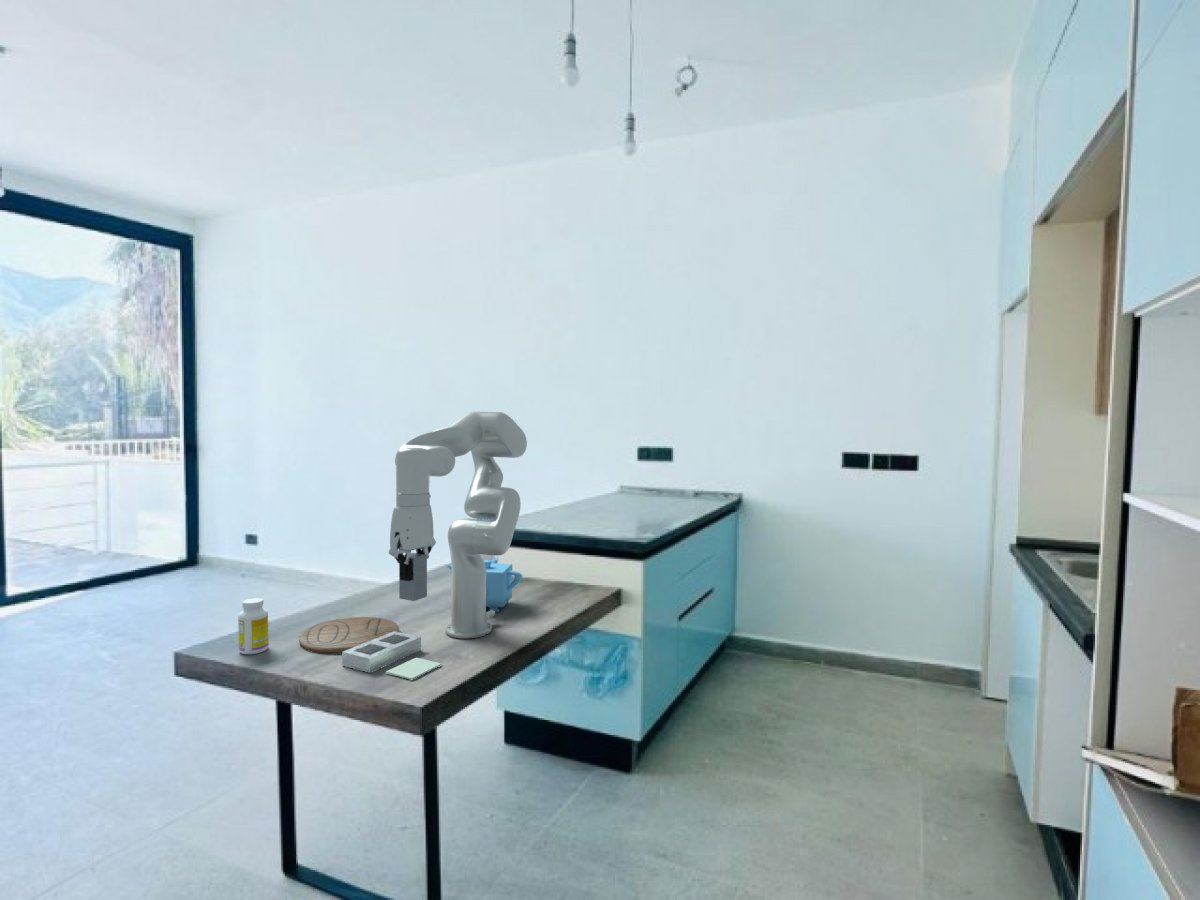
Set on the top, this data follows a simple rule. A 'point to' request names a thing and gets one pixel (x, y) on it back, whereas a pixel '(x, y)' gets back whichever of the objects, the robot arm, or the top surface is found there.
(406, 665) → the sage pad
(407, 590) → the zinc peg
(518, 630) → the top surface
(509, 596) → the teakettle
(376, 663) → the grey cinder block
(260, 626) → the supplement bottle
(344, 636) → the trivet
